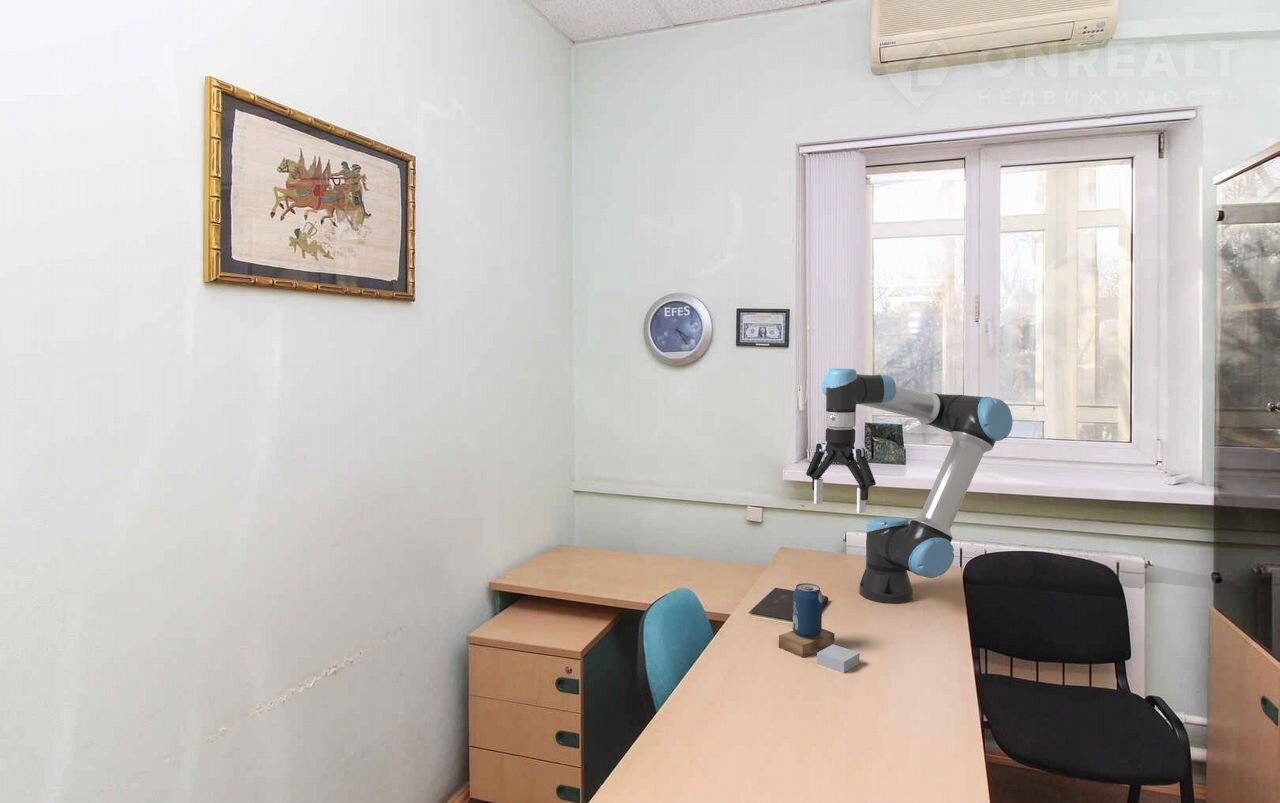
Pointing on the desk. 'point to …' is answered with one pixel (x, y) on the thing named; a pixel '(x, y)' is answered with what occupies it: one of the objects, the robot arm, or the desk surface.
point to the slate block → (838, 658)
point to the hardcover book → (777, 607)
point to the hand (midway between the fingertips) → (839, 507)
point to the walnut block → (805, 643)
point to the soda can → (807, 611)
